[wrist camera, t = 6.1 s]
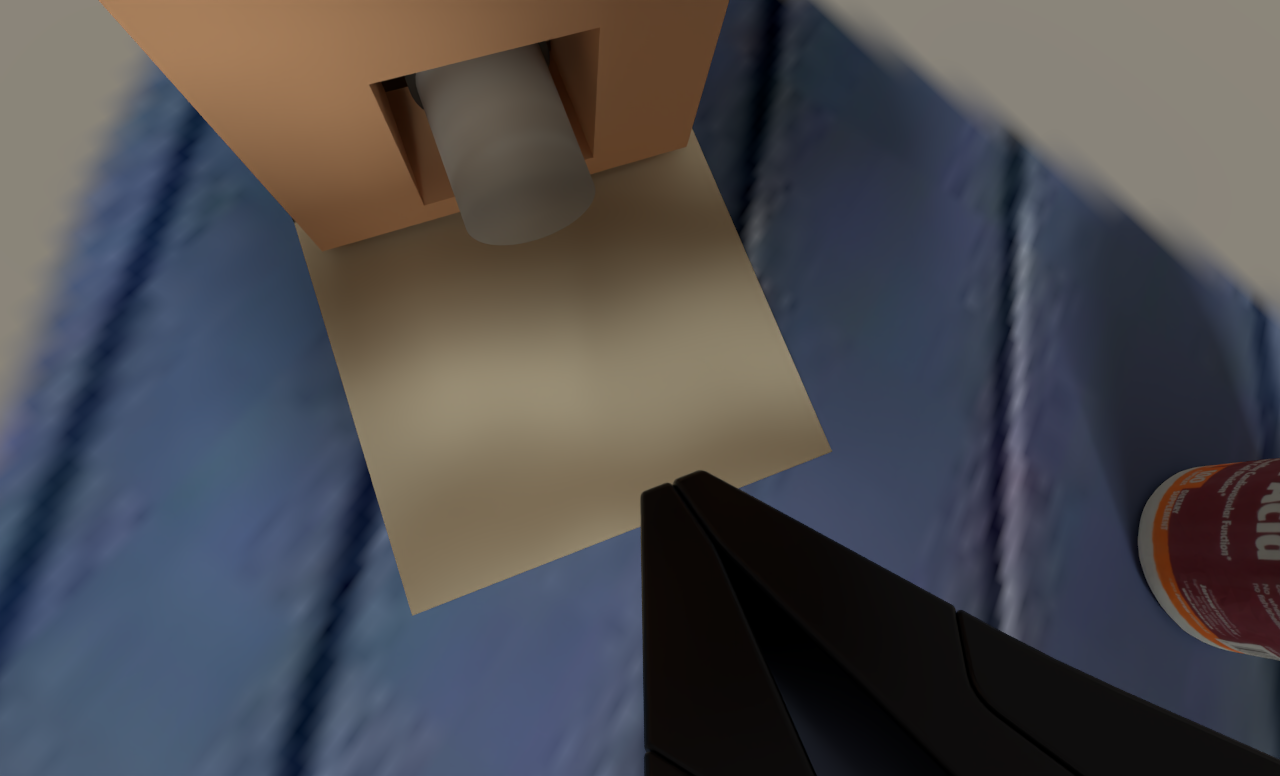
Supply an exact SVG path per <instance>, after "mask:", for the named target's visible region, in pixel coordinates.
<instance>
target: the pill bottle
mask: <svg viewBox="0 0 1280 776" xmlns="http://www.w3.org/2000/svg"><path fill="white" fill-rule="evenodd" d="M1138 549H1139V559H1140V562H1141V566H1142V569H1143V572H1144V575H1145V578H1146V580H1147V583H1148V585H1149V587H1150V588H1151V590H1152V592H1153V594H1154V595H1155V597H1156V599H1157V600H1158V602H1159V604H1160V605H1161V607H1162V608H1163V609H1164V610H1165V611H1166V613H1167V614H1168V615H1169V616H1170V617H1171V618H1172V619H1173V620H1174V621H1175V622H1176V623H1177V624H1178V625H1179V626H1180V628H1182V629H1183V630H1184V631H1185V632H1187V633H1188V634H1190V635H1192V636H1193V637H1195V638H1197V639H1199V640H1200V641H1202V642H1204V643H1207V644H1209V645H1212V646H1214V647H1217V648H1220V649H1224V650H1228V651H1233V652H1237V653H1242V654H1247V655H1253V656H1258V657H1263V658H1269V659H1274V660H1280V458H1276V459H1265V460H1257V461H1247V462H1237V463H1228V464H1219V465H1210V466H1201V467H1194V468H1190V469H1187V470H1184V471H1180V472H1178V473H1177V474H1175V475H1173V476H1172V477H1170V478H1169V479H1167V480H1166V481H1165V482H1163V483H1162V484H1161V485H1160V486H1159V487H1158V488H1157V489H1156V490H1155V492H1154V493H1153V494H1152V495H1151V497H1150V498H1149V500H1148V501H1147V503H1146V505H1145V507H1144V509H1143V512H1142V515H1141V519H1140V525H1139V533H1138Z"/></svg>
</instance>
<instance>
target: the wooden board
mask: <svg viewBox="0 0 1280 776" xmlns="http://www.w3.org/2000/svg"><path fill="white" fill-rule="evenodd" d="M99 1H100V2H101V3H102V5H103V6H104V7H105V8H106V9H107V10H108V11H109V13H110V14H111V15H112V16H113V17H114V18H115V19H116V20H117V21H118V23H119V24H120V25H121V26H122V27H123V28H124V29H125V30H126V32H127V33H128V34H129V35H130V36H131V37H132V38H133V39H134V41H135V42H136V43H137V44H138V45H139V46H140V47H141V48H142V50H143V51H144V52H145V53H146V54H147V55H148V56H149V57H150V59H151V60H152V61H153V62H154V63H155V64H156V65H157V66H158V68H159V69H160V70H161V71H162V72H163V73H164V74H165V75H166V77H167V78H168V79H169V80H170V81H171V82H172V83H173V84H174V85H175V87H176V88H177V89H178V90H179V91H180V92H181V93H182V94H183V96H184V97H185V98H186V99H187V100H188V101H189V102H190V103H191V105H192V106H193V107H194V108H195V109H196V110H197V111H198V112H199V114H200V115H201V116H202V117H203V118H204V119H205V120H206V121H207V123H208V124H209V125H210V126H211V127H212V128H213V129H214V130H215V132H216V133H217V134H218V135H219V136H220V137H221V138H222V139H223V141H224V142H225V143H226V144H227V145H228V146H229V147H230V148H231V149H232V151H233V152H234V153H235V154H236V155H237V156H238V157H239V158H240V160H241V161H242V162H243V163H244V164H245V165H246V166H247V167H248V169H249V170H250V171H251V172H252V173H253V174H254V175H255V176H256V178H257V179H258V180H259V181H260V182H261V183H262V184H263V185H264V187H265V188H266V189H267V190H268V191H269V192H270V193H271V194H272V196H273V197H274V198H275V199H276V200H277V201H278V202H279V203H280V205H281V206H282V207H283V208H284V209H285V210H286V211H287V212H288V214H289V215H290V216H291V217H292V218H293V219H294V220H295V221H296V222H297V224H298V225H299V226H300V227H301V228H302V229H303V230H304V231H305V233H306V234H307V235H308V236H309V237H310V238H311V239H312V240H313V242H314V243H315V244H316V245H317V246H318V247H319V248H320V249H321V251H322V252H323V251H326V250H329V249H333V248H336V247H340V246H343V245H347V244H350V243H354V242H357V241H361V240H364V239H368V238H371V237H375V236H378V235H382V234H385V233H389V232H392V231H395V230H399V229H402V228H406V227H409V226H413V225H416V224H420V223H423V222H427V221H430V220H434V219H437V218H441V217H444V216H448V215H451V214H455V213H458V212H460V210H459V207H458V204H457V201H456V199H455V196H454V193H453V190H452V187H451V184H450V182H449V179H448V176H447V173H446V170H445V167H444V165H443V162H442V159H441V156H440V153H439V150H438V147H437V145H436V142H435V139H434V136H433V133H432V130H431V128H430V125H429V122H428V119H427V116H426V113H425V111H424V110H423V109H422V108H421V107H420V106H419V105H418V104H417V103H416V102H415V100H414V99H413V98H412V95H411V93H410V91H409V88H408V87H404V88H400V89H396V90H392V91H388V92H385V90H384V88H383V85H382V83H381V81H385V80H389V79H393V78H397V77H401V76H405V75H409V74H413V73H417V72H421V71H425V70H430V69H434V68H438V67H442V66H446V65H450V64H454V63H458V62H462V61H466V60H470V59H474V58H478V57H482V56H486V55H490V54H494V53H498V52H502V51H506V50H510V49H514V48H518V47H522V46H526V45H530V44H534V43H538V42H543V41H547V40H550V46H551V51H549V55H550V63H549V68H548V69H549V71H550V74H551V76H552V79H553V81H554V84H555V86H556V89H557V91H558V94H559V97H560V99H561V102H562V104H563V107H564V109H565V112H566V114H567V117H568V119H569V122H570V124H571V127H572V129H573V132H574V134H575V137H576V140H577V142H578V145H579V147H580V150H581V152H582V155H583V157H584V160H585V162H586V165H587V167H588V170H589V172H590V174H593V173H597V172H600V171H604V170H607V169H611V168H614V167H618V166H621V165H625V164H628V163H632V162H635V161H639V160H642V159H646V158H649V157H652V156H656V155H659V154H663V153H666V152H670V151H673V150H677V149H680V148H684V147H687V144H688V140H689V137H690V133H691V130H692V126H693V123H694V120H695V116H696V113H697V109H698V106H699V102H700V99H701V96H702V92H703V89H704V85H705V82H706V78H707V75H708V72H709V68H710V65H711V61H712V58H713V54H714V51H715V47H716V44H717V41H718V37H719V34H720V30H721V27H722V23H723V20H724V17H725V13H726V10H727V6H728V3H729V0H99Z"/></svg>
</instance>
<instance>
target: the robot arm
mask: <svg viewBox="0 0 1280 776" xmlns="http://www.w3.org/2000/svg"><path fill="white" fill-rule="evenodd" d="M640 515H641V574H642V634H643V693H644V747H645V750H646V754H645V756H644V776H1280V760H1279V759H1277V758H1275V757H1272V756H1270V755H1268V754H1266V753H1263V752H1261V751H1259V750H1257V749H1254V748H1252V747H1250V746H1248V745H1245V744H1243V743H1241V742H1238V741H1236V740H1234V739H1232V738H1229V737H1227V736H1225V735H1223V734H1220V733H1218V732H1216V731H1214V730H1211V729H1209V728H1207V727H1205V726H1202V725H1200V724H1198V723H1195V722H1193V721H1191V720H1189V719H1186V718H1184V717H1182V716H1180V715H1177V714H1175V713H1173V712H1171V711H1168V710H1166V709H1164V708H1161V707H1159V706H1157V705H1155V704H1152V703H1150V702H1148V701H1146V700H1143V699H1141V698H1139V697H1137V696H1134V695H1132V694H1130V693H1128V692H1125V691H1123V690H1121V689H1119V688H1116V687H1114V686H1112V685H1110V684H1108V683H1106V682H1104V681H1101V680H1099V679H1097V678H1095V677H1093V676H1091V675H1088V674H1086V673H1084V672H1082V671H1080V670H1078V669H1076V668H1073V667H1071V666H1069V665H1067V664H1065V663H1063V662H1061V661H1058V660H1056V659H1054V658H1052V657H1050V656H1048V655H1046V654H1044V653H1042V652H1040V651H1039V650H1037V649H1035V648H1033V647H1031V646H1029V645H1027V644H1025V643H1023V642H1021V641H1019V640H1017V639H1015V638H1013V637H1011V636H1009V635H1007V634H1006V633H1004V632H1002V631H1000V630H998V629H996V628H994V627H992V626H990V625H989V624H987V623H985V622H983V621H981V620H979V619H977V618H976V617H974V616H972V615H970V614H968V613H966V612H965V611H963V610H959V611H957V612H956V610H955V608H954V606H953V605H951V604H949V603H948V602H946V601H944V600H942V599H940V598H938V597H936V596H935V595H933V594H931V593H929V592H927V591H925V590H924V589H922V588H920V587H918V586H916V585H914V584H913V583H911V582H909V581H907V580H905V579H903V578H902V577H900V576H898V575H896V574H894V573H892V572H891V571H889V570H887V569H885V568H883V567H881V566H880V565H878V564H876V563H874V562H872V561H870V560H868V559H867V558H865V557H863V556H861V555H859V554H857V553H856V552H854V551H852V550H850V549H848V548H846V547H845V546H843V545H841V544H839V543H837V542H835V541H834V540H832V539H830V538H828V537H826V536H824V535H823V534H821V533H819V532H817V531H815V530H813V529H812V528H810V527H808V526H806V525H804V524H802V523H800V522H799V521H797V520H795V519H793V518H791V517H789V516H788V515H786V514H784V513H782V512H780V511H778V510H777V509H775V508H773V507H771V506H769V505H767V504H766V503H764V502H762V501H760V500H758V499H756V498H755V497H753V496H751V495H749V494H747V493H745V492H744V491H742V490H740V489H738V488H736V487H734V486H732V485H731V484H729V483H727V482H725V481H723V480H721V479H720V478H718V477H716V476H714V475H712V474H710V473H709V472H707V471H704V470H697V471H695V472H692V473H690V474H687V475H684V476H682V477H679V478H677V479H675V480H674V482H673V485H672V484H671V483H668V482H667V483H663V484H661V485H658V486H655V487H653V488H650V489H648V490H645V491H643V492H642V493H641V496H640Z"/></svg>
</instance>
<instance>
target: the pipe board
mask: <svg viewBox="0 0 1280 776" xmlns="http://www.w3.org/2000/svg"><path fill="white" fill-rule="evenodd" d="M549 51H551V46H550V40H547V41H543V42H538V43H534V44H530V45H526V46H522V47H518V48H514V49H510V50H506V51H502V52H498V53H494V54H490V55H486V56H482V57H478V58H474V59H470V60H466V61H462V62H458V63H454V64H450V65H446V66H442V67H438V68H434V69H430V70H425V71H421V72H417V73H413V74H409V75H405V76H401V77H397V78H393V79H389V80H385V81H381V83H382V85H383V88H384V90H385V92H388V91H392V90H396V89H400V88H404V87H408V88H409V91H410V93H411V95H412V98H413V99H414V100H415V102H416V103H417V104H418V105H419V106H420V107H421V108H422V109H423V110H424V111H425V113H426V116H427V119H428V122H429V125H430V128H431V130H432V133H433V136H434V139H435V142H436V145H437V147H438V150H439V153H440V156H441V159H442V162H443V165H444V167H445V170H446V173H447V176H448V179H449V182H450V184H451V187H452V190H453V193H454V196H455V199H456V201H457V204H458V207H459V210H460V212H458V213H455V214H451V215H448V216H444V217H441V218H437V219H434V220H430V221H427V222H423V223H420V224H416V225H413V226H409V227H406V228H402V229H399V230H395V231H392V232H389V233H385V234H382V235H378V236H375V237H371V238H368V239H364V240H361V241H357V242H354V243H350V244H347V245H343V246H340V247H336V248H333V249H329V250H326V251H323V252H322V251H321V249H320V248H319V247H318V246H317V245H316V244H315V243H314V242H313V240H312V239H311V238H310V237H309V236H308V235H307V234H306V233H305V231H304V230H303V229H302V228H301V227H300V226H299V225H298V224H297V222H296V221H295V220H294V219H293V218H292V219H293V222H294V224H295V227H296V230H297V233H298V237H299V240H300V243H301V247H302V250H303V253H304V257H305V260H306V263H307V267H308V270H309V273H310V277H311V280H312V283H313V287H314V290H315V293H316V297H317V300H318V303H319V307H320V310H321V313H322V317H323V320H324V323H325V327H326V330H327V333H328V337H329V340H330V343H331V347H332V350H333V353H334V357H335V360H336V363H337V367H338V370H339V373H340V377H341V380H342V383H343V387H344V390H345V393H346V396H347V400H348V403H349V406H350V410H351V413H352V416H353V420H354V423H355V426H356V430H357V433H358V436H359V440H360V443H361V446H362V450H363V453H364V456H365V460H366V463H367V466H368V470H369V473H370V476H371V480H372V483H373V486H374V490H375V493H376V496H377V500H378V503H379V506H380V510H381V513H382V516H383V520H384V523H385V526H386V530H387V533H388V536H389V540H390V543H391V546H392V550H393V553H394V556H395V559H396V563H397V566H398V569H399V573H400V576H401V579H402V583H403V586H404V589H405V593H406V596H407V599H408V603H409V606H410V609H411V613H412V615H415V614H418V613H420V612H423V611H425V610H428V609H430V608H433V607H435V606H438V605H441V604H443V603H446V602H448V601H451V600H453V599H456V598H458V597H461V596H464V595H466V594H469V593H471V592H474V591H476V590H479V589H482V588H484V587H487V586H489V585H492V584H494V583H497V582H499V581H502V580H505V579H507V578H510V577H512V576H515V575H517V574H520V573H522V572H525V571H528V570H530V569H533V568H535V567H538V566H540V565H543V564H545V563H548V562H551V561H553V560H556V559H558V558H561V557H563V556H566V555H569V554H571V553H574V552H576V551H579V550H581V549H584V548H586V547H589V546H592V545H594V544H597V543H599V542H602V541H604V540H607V539H609V538H612V537H615V536H617V535H620V534H622V533H625V532H627V531H630V530H632V529H635V528H638V527H640V526H641V515H640V496H641V493H642V492H643V491H645V490H648V489H650V488H653V487H655V486H658V485H661V484H663V483H667V482H668V483H671V484H672V485H673V482H674V480H675V479H677V478H679V477H682V476H684V475H687V474H690V473H692V472H695V471H697V470H704V471H707V472H709V473H710V474H712V475H714V476H716V477H718V478H720V479H721V480H723V481H725V482H727V483H729V484H731V485H732V486H734V487H736V488H740V487H743V486H745V485H748V484H750V483H753V482H755V481H758V480H760V479H763V478H766V477H768V476H771V475H773V474H776V473H778V472H781V471H783V470H786V469H789V468H791V467H794V466H796V465H799V464H801V463H804V462H806V461H809V460H812V459H814V458H817V457H819V456H822V455H824V454H827V453H830V452H832V450H831V448H830V446H829V443H828V441H827V439H826V436H825V434H824V432H823V429H822V427H821V425H820V423H819V420H818V418H817V416H816V413H815V411H814V409H813V406H812V404H811V402H810V399H809V397H808V395H807V392H806V390H805V388H804V386H803V383H802V381H801V379H800V376H799V374H798V372H797V369H796V367H795V365H794V362H793V360H792V358H791V356H790V353H789V351H788V349H787V346H786V344H785V342H784V339H783V337H782V335H781V332H780V330H779V328H778V326H777V323H776V321H775V319H774V316H773V314H772V312H771V309H770V307H769V305H768V302H767V300H766V298H765V295H764V293H763V291H762V289H761V286H760V284H759V282H758V279H757V277H756V275H755V272H754V270H753V268H752V265H751V263H750V261H749V259H748V256H747V254H746V252H745V249H744V247H743V245H742V242H741V240H740V238H739V235H738V233H737V231H736V228H735V226H734V224H733V222H732V219H731V217H730V215H729V212H728V210H727V208H726V205H725V203H724V201H723V198H722V196H721V194H720V192H719V189H718V187H717V185H716V182H715V180H714V178H713V175H712V173H711V171H710V168H709V166H708V164H707V161H706V159H705V157H704V155H703V152H702V150H701V148H700V145H699V143H698V141H697V138H696V136H695V134H694V131H693V129H692V130H691V133H690V137H689V140H688V144H687V147H684V148H680V149H677V150H673V151H670V152H666V153H663V154H659V155H656V156H652V157H649V158H646V159H642V160H639V161H635V162H632V163H628V164H625V165H621V166H618V167H614V168H611V169H607V170H604V171H600V172H597V173H593V174H590V172H589V170H588V167H587V165H586V162H585V160H584V157H583V155H582V152H581V150H580V147H579V145H578V142H577V140H576V137H575V134H574V132H573V129H572V127H571V124H570V122H569V119H568V117H567V114H566V112H565V109H564V107H563V104H562V102H561V99H560V97H559V94H558V91H557V89H556V86H555V84H554V81H553V79H552V76H551V74H550V71H549V69H548V68H549V63H550V55H549Z"/></svg>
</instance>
